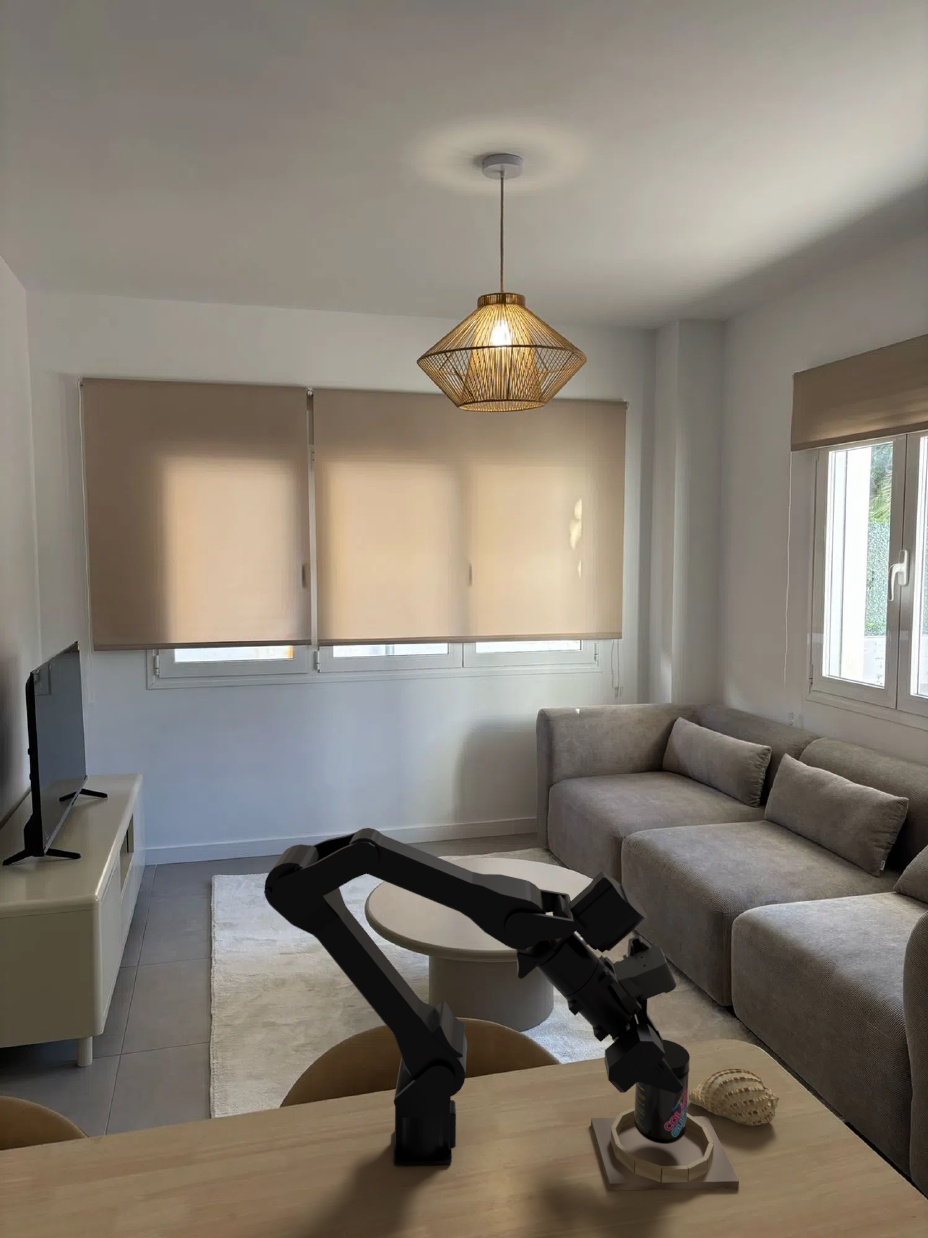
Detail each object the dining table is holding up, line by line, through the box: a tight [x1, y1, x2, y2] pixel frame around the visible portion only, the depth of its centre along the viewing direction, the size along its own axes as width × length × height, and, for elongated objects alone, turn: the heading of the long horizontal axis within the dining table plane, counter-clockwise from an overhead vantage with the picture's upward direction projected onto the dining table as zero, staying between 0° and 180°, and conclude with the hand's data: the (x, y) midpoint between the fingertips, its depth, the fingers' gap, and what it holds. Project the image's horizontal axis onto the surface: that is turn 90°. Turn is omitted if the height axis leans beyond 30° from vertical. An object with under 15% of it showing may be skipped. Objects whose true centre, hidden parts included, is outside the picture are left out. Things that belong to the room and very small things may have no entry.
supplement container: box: [634, 1038, 691, 1144], centre depth 102 cm, size 6×6×9 cm
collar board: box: [590, 1106, 740, 1192], centre depth 103 cm, size 14×11×2 cm
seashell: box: [688, 1068, 780, 1127], centre depth 110 cm, size 8×6×10 cm
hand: (674, 1073), depth 102 cm, fingers closed on supplement container, 6 cm apart
